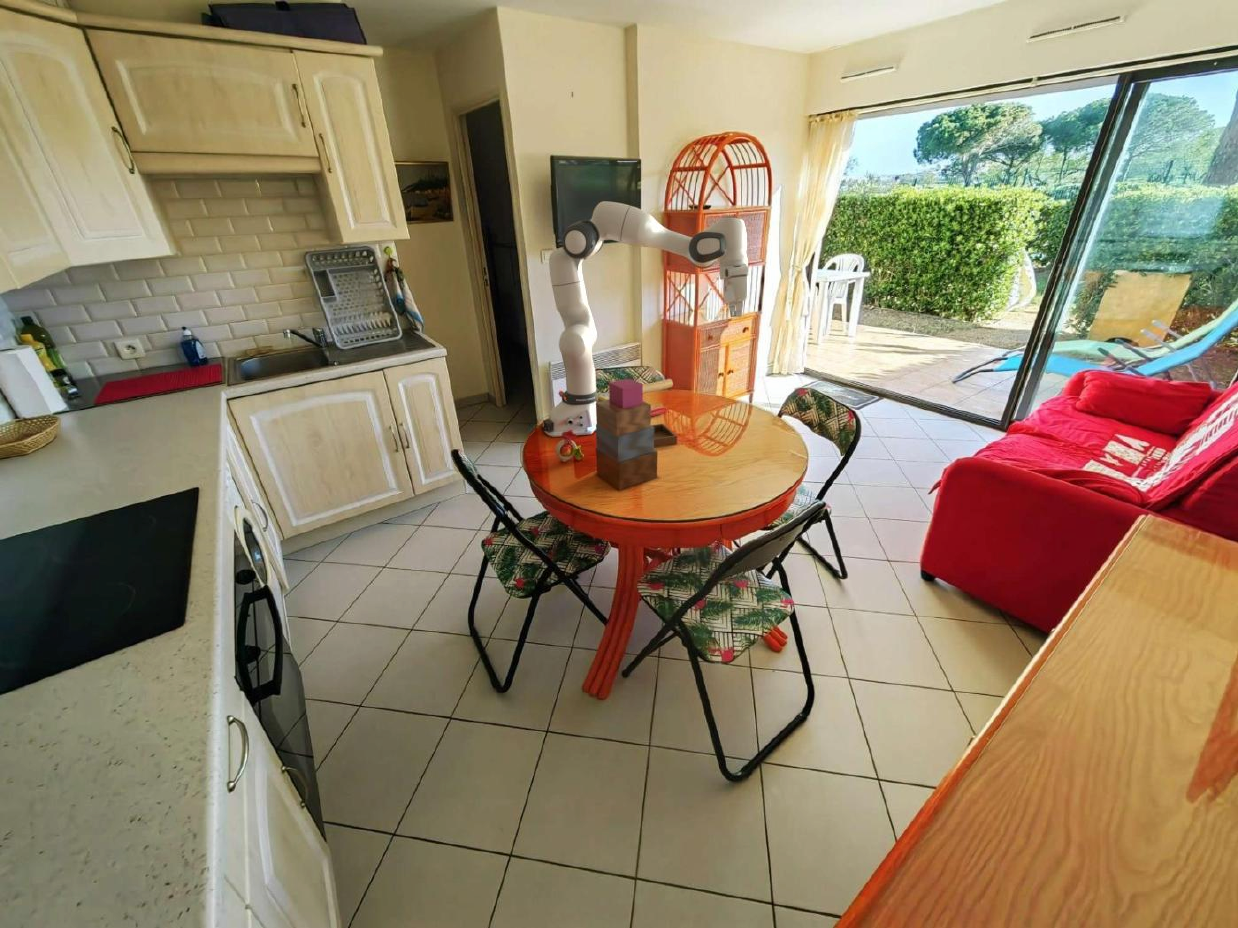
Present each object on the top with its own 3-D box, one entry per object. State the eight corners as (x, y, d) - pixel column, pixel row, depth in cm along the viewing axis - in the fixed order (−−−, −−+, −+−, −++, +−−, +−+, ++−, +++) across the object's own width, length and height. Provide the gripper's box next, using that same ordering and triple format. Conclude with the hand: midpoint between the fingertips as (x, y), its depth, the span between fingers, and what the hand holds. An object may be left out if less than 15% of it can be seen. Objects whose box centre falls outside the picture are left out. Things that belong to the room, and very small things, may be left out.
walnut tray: (632, 450, 176) (632, 442, 175) (621, 437, 187) (621, 429, 185) (676, 443, 181) (677, 436, 179) (662, 430, 191) (663, 423, 190)
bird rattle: (568, 471, 168) (590, 455, 170) (554, 446, 161) (576, 429, 163) (560, 464, 172) (581, 448, 175) (546, 439, 166) (568, 423, 168)
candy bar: (663, 410, 210) (663, 404, 209) (668, 413, 208) (669, 406, 206) (631, 419, 203) (631, 412, 201) (636, 422, 200) (636, 414, 199)
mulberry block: (663, 389, 160) (663, 370, 157) (677, 395, 154) (678, 376, 152) (609, 402, 150) (608, 382, 147) (622, 409, 145) (622, 388, 142)
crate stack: (633, 462, 168) (632, 392, 157) (657, 477, 158) (658, 404, 147) (596, 473, 161) (593, 401, 150) (619, 490, 151) (618, 414, 141)
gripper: (718, 276, 172) (721, 318, 176) (729, 270, 152) (732, 318, 156) (737, 273, 172) (739, 316, 175) (750, 267, 152) (752, 315, 156)
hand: (736, 317), depth 165 cm, fingers open, 8 cm apart
